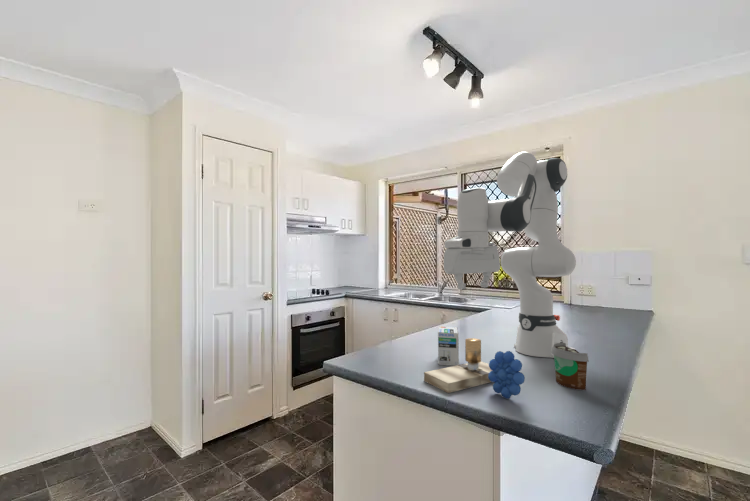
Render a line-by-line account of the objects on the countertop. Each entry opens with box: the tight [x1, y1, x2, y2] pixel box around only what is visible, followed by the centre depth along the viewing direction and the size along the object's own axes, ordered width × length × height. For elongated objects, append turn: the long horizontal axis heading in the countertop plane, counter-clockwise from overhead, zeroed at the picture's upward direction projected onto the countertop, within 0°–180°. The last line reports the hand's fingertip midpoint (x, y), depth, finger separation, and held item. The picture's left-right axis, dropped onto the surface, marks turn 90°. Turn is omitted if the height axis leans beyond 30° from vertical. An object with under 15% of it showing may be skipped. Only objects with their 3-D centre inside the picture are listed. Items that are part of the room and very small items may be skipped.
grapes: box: [488, 350, 526, 399], centre depth 88 cm, size 12×7×12 cm, turn 22°
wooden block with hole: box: [423, 361, 493, 394], centre depth 100 cm, size 22×10×3 cm, turn 120°
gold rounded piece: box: [464, 337, 482, 372], centre depth 102 cm, size 4×4×11 cm
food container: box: [551, 343, 589, 391], centre depth 98 cm, size 12×6×10 cm, turn 178°
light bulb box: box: [437, 325, 460, 367], centre depth 118 cm, size 11×7×11 cm, turn 169°
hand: (473, 288), depth 104 cm, fingers open, 8 cm apart
